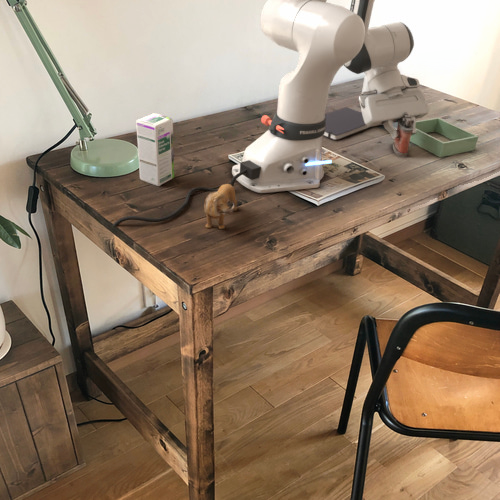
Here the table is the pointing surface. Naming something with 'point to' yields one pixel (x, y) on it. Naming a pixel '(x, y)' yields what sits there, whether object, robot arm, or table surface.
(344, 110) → the notebook
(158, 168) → the syrup box
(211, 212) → the tan animal figure
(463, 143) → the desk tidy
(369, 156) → the table surface
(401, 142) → the lighter
